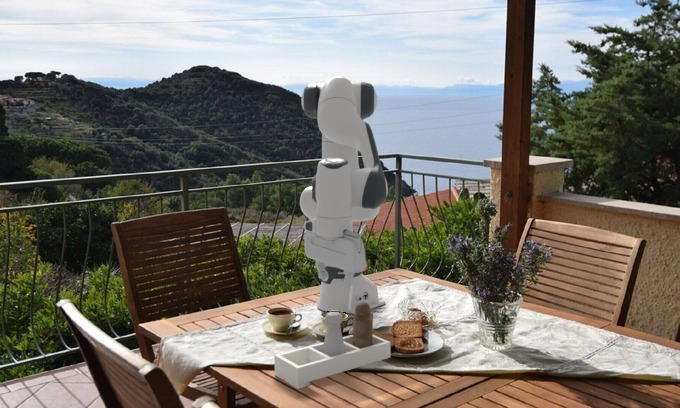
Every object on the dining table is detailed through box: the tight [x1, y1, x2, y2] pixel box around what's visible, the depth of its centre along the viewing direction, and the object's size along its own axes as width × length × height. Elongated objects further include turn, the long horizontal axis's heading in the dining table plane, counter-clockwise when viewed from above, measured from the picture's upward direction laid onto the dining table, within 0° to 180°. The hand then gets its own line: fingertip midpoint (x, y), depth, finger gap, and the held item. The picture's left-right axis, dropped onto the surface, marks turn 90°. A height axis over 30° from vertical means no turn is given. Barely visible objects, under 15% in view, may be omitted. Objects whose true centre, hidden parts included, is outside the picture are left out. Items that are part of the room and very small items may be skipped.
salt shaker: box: [322, 312, 345, 357], centre depth 164 cm, size 6×6×13 cm
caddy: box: [273, 334, 392, 390], centre depth 165 cm, size 28×10×5 cm, turn 127°
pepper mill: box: [352, 302, 374, 349], centre depth 169 cm, size 5×5×14 cm
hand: (334, 282), depth 162 cm, fingers open, 8 cm apart
